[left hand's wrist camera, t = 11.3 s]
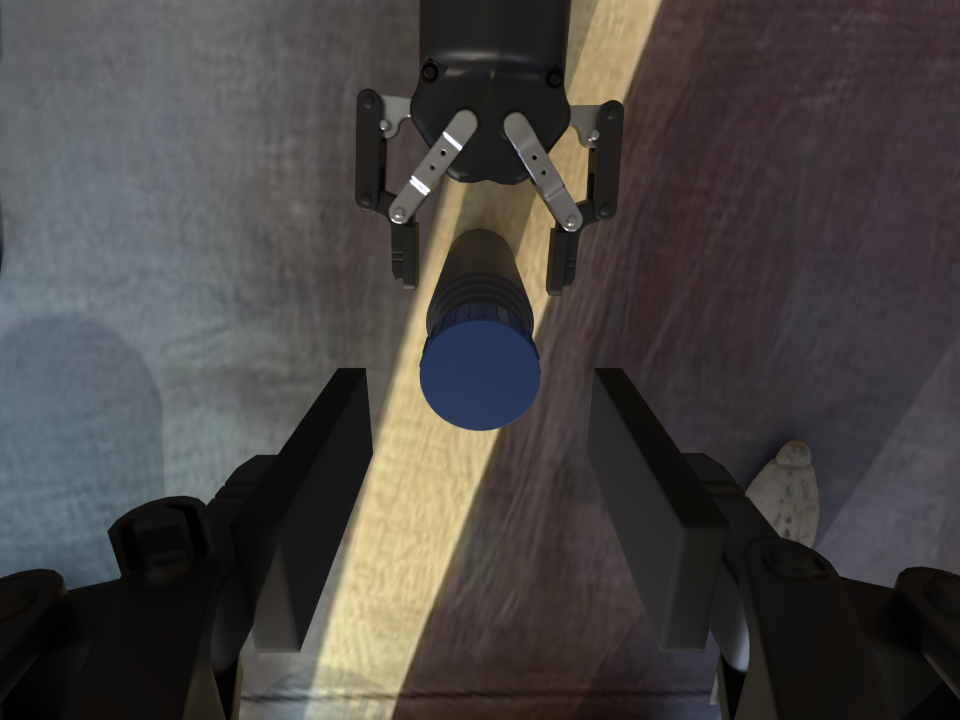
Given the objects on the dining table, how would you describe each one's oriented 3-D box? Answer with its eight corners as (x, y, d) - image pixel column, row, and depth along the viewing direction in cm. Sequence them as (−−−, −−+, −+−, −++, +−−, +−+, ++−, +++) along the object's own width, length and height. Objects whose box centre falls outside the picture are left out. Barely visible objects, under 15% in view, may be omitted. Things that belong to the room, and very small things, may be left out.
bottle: (433, 259, 36) (380, 365, 17) (484, 214, 35) (489, 275, 16) (475, 308, 37) (471, 458, 18) (526, 267, 36) (578, 381, 17)
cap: (401, 348, 19) (391, 370, 17) (487, 277, 18) (488, 291, 16) (473, 424, 20) (472, 453, 18) (557, 361, 19) (566, 384, 17)
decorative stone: (823, 433, 41) (852, 455, 38) (780, 583, 46) (802, 613, 43) (747, 432, 41) (770, 454, 38) (713, 582, 46) (730, 612, 43)
